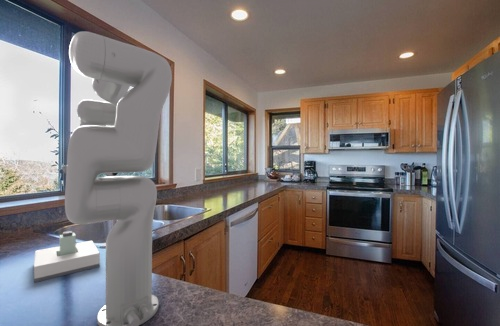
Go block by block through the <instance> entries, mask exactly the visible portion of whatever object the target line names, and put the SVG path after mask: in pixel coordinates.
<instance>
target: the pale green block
mask: <svg viewBox="0 0 500 326" xmlns="http://www.w3.org/2000/svg"><path fill="white" fill-rule="evenodd" d="M76 236H77V235H76V233H75V232H73V231H72V230H68V231H63V232H62V234H59V246H60V256H62V255H67V254H72V253H76V241H77V238H76Z"/></svg>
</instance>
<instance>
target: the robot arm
mask: <svg viewBox="0 0 500 326" xmlns="http://www.w3.org/2000/svg"><path fill="white" fill-rule="evenodd" d="M68 47H69V49H68V56H69V61H70V64H71V67H73V69H74V70H75V71H76V72H77V73H79V74H80V75H81V76H83V77H85V78H89V79H92V80H91V87H92V90H93V91H94V93H95V94H96V95H97V96H98V97H100V98H101V99H102V100H104V101H102V100H93V99H82V100H81V101H80V102H79V103H78V104H77V105H76V106H77V107H76V115H77V117H78V118H79V122H80V123H79V126H77V127H76V128H75V129H74V130H73V131H72V133H71V135H70V137H69V140H68V145H67V153H66V165H63V166H61V170H62V171H63V173H64V174H65V188H64V190H65V192H64V211H65V216H66V218H67V220H68V221H69V222H70V223H72V224H75V225H88V224H89V225H90V224H96V223H102V222H108V221H109V222H110V221H116V222H115V223H114V225H113V226H112V228H111V229H110V230H109V232H108V233H107V236H106V241H105V305H103V307H101V308H100V309H99V311H98V312H97V316H96V321H97V325H98V326H140V325H143V324H144V323H146V322H147V321H149V320H150V319H151V318H153V317H154V316H155V315H156V313H157V312H158V310H159V304H160V303H159V299H158V297H157V296H156V295H154V294H153V292H152V291H153V285H152V284H153V281H152V279H153V278H152V277H153V227H154V226H153V225H154V215H155V210H156V204H157V199H158V198H157V197H158V188H157V186H156V184H155V182H154V181H153V180H152V179H150V178H149V177H146V176H142V175H118V174H119V173H121V174H122V173H141V172H145V171H148V170H150V169H151V168H152V166H153V164H154V162H155V158H156V154H157V146H158V145H157V143H158V137H159V129H160V120H161V113H162V110H163V108H164V105H165V103H166V100H167V98H168V96H169V93H170V90H171V86H172V81H173V80H172V79H173V76H172V75H173V74H172V73H173V72H172V68H171V65H170V63H169V61H168V60H167V59H166V58H165V57H164V56H161V55H160V54H157V53H156V52H154V51H150V50H147V49H145V48H142V47H140V46H135V45H134V44H133V45H132V44H131V43H127V42H122V41H120V40H117V39H113V38H110V37H107V36H104V35H101V34H98V33H94V32H91V31H87V30H86V31H78V32H76V33H75V34H74V35H73V37H72V38H71V41H70V44H69V46H68ZM130 87H132V88H131V89H130ZM102 174H105V176H99V175H102Z"/></svg>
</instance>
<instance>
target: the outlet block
mask: <svg viewBox="0 0 500 326" xmlns="http://www.w3.org/2000/svg"><path fill="white" fill-rule="evenodd" d="M100 255H101V254H100V251H99V249H98V248H97V246H96V244H95V243H94V241H93V240H86V241H81V242H77V243H76V253H72V254H67V255H62V256H60V245H59V246H52V247H48V248H43V249H38V250H35V252H34V264H33V283H37V282H41V281H42V282H43V281H47V280H50V279H53V278H54V279H55V278H59V277H62V276H66V275H71V274H74V273H79V272H83V271H86V270H91V269H95V268H98V267H100V266H101V265H100V264H101V263H100V262H101V261H100V260H101V259H100V257H101V256H100Z"/></svg>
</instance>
